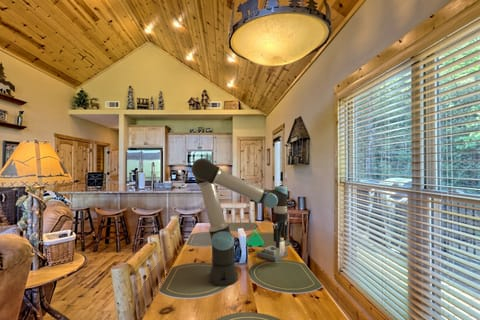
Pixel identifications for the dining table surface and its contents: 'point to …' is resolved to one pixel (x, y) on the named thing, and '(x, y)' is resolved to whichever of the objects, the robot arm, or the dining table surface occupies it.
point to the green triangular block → (255, 240)
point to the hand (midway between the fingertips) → (280, 252)
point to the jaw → (281, 247)
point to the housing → (270, 254)
